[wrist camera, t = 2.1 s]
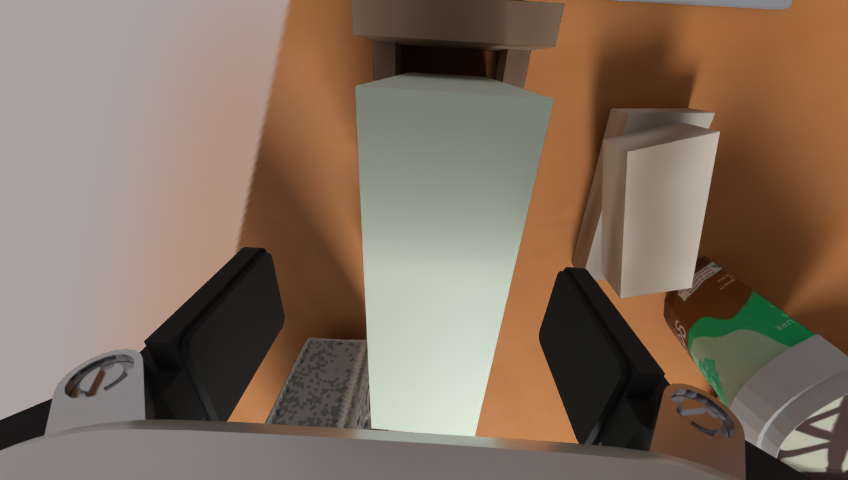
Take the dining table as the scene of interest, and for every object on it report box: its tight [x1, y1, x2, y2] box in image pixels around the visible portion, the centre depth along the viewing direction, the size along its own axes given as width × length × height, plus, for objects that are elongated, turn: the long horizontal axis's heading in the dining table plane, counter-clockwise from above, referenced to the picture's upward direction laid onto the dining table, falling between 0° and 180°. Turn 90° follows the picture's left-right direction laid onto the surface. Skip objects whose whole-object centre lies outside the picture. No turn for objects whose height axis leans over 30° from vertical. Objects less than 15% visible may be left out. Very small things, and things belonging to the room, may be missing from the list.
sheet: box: [355, 72, 554, 436], centre depth 14 cm, size 4×12×12 cm, turn 177°
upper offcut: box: [601, 122, 720, 298], centre depth 17 cm, size 4×8×2 cm, turn 14°
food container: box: [664, 256, 848, 480], centre depth 19 cm, size 12×6×10 cm, turn 50°
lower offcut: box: [572, 108, 715, 280], centre depth 19 cm, size 4×10×2 cm, turn 1°
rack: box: [351, 0, 565, 89], centre depth 17 cm, size 7×17×6 cm, turn 177°
